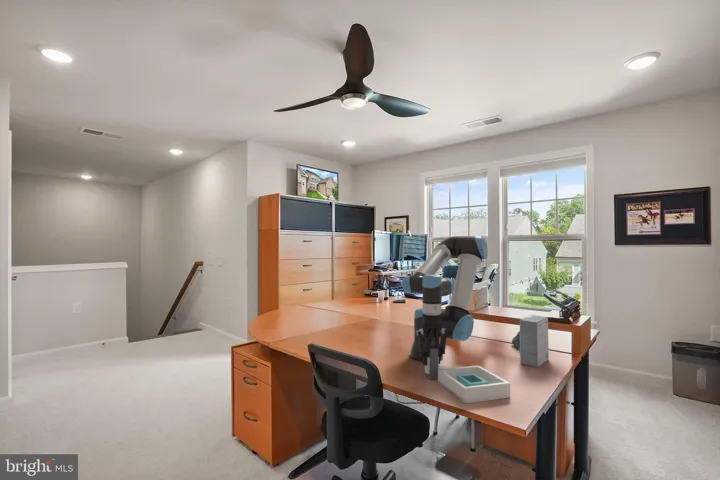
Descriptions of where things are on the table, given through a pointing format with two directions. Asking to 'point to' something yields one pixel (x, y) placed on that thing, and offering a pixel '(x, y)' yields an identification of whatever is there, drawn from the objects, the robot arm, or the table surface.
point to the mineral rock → (516, 340)
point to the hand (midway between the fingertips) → (431, 372)
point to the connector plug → (433, 362)
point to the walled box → (473, 384)
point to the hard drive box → (534, 340)
